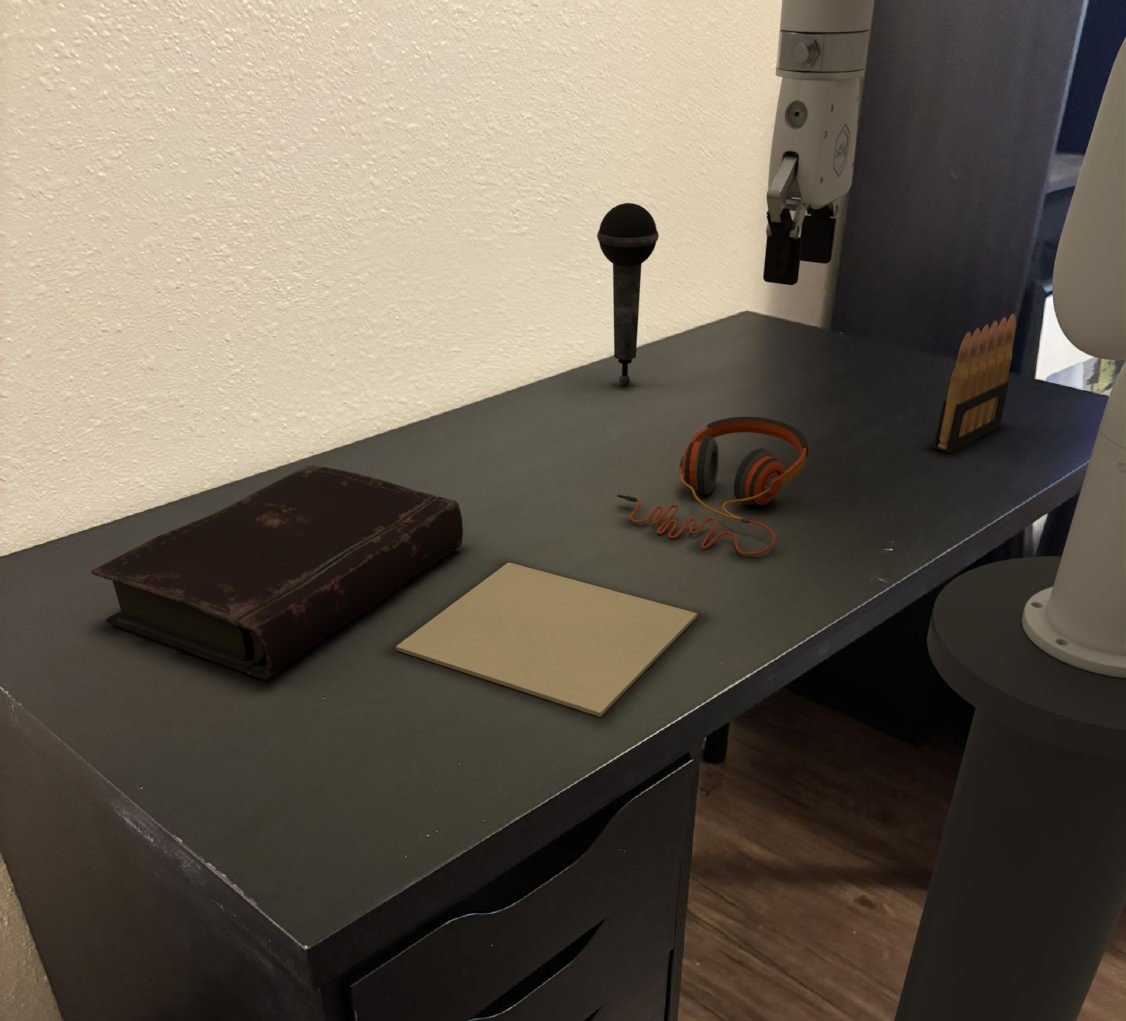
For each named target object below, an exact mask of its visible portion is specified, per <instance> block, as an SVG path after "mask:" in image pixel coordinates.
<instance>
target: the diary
mask: <svg viewBox="0 0 1126 1021" xmlns="http://www.w3.org/2000/svg"><path fill="white" fill-rule="evenodd" d="M463 536H464V524H463V516H462V512H461V508H460V504H459V503H458V501H457V500H456V499H450V498H446V497H443V496H436V495H435V494H432V493H426V492H423V491H420V490H415V489H413V488H412V489H411V488H409V487H407V486H406V487H405V486H402V485H399V484H395V483H393V482H389V481H386V480H383V479H380V478H375V477H372V476H368V475H364V474H360V473H355V472H352V471H348V470H344V469H337V468H333V467H332V468H331V467H328V466H327V467H326V466H323V465H315V464H307V465H305V466H303V467H300V468H298V469H297V470H295V471H293V472H291V473H290V474H287V475H285V476H284V477H282V478H280V479H277V480H276V481H274V482H272V483H270V484H268V485H266V486H264V487H262V488H261V489H259V490H257V491H254V492H253V493H251V494H249V495H247V496H245V497H243V498H241V499H239V500H237V501H235V502H234V503H233V502H232V503H231V504H229V505H227V506H225V507H224V508H221V509H219V510H218V511H216V512H213V513H212V514H209V515H207V516H204V517H202V518H200V519H197V520H194V521H192V522H190V523H187V524H185V525H183V526H182V525H181V526H179V527H178V528H176V529H173V530H169V531H167V532H165V533H162V534H159V535H157V536H156V537H154V538H152V539H150V540H147V541H145V542H143V543H142V544H140V545H138V546H136V547H134V548H132V549H131V550H128V551H127V552H125V553H122V554H121V555H119V556H117V557H115V558H113V559H111V560H109V561H107V562H106V563H103V564H101V565H100V566H97V567H95V568H94V569H92V570H91V572H90V574H92V575H94V576H97V577H99V578H103V579H106V580H109V581H112V584H113V589H114V592H115V594H116V599H117V602H118V605H119V608H120V611H118V612H116V613H115V614H112V615H111V616H109V617H107V618H106V619H105V622H106V623H108V624H109V625H113V626H114V627H115V626H116V627H118V628H121V629H124V630H127V631H129V632H132V633H135V634H138V635H140V636H143V637H146V638H149V639H152V640H154V641H157V642H159V643H162V644H164V645H167V646H170V647H173V648H175V649H178V650H181V651H185V652H187V653H189V654H192V655H196V656H198V657H201V658H203V659H206V660H209V661H212V662H214V663H217V664H220V665H223V666H225V667H228V668H231V669H233V670H237V671H239V672H241V673H245V672H246V674H248V675H250V676H253V677H255V678H258V679H261V680H264V681H266V680H268V679H270V678H271V677H272V676H274V675H275V674H277V673H278V672H279V671H281V670H282V669H283V668H285V667H286V666H288V665H289V664H290V663H292V662H293V661H294V660H296V659H297V658H298V657H300V656H301V655H303V654H304V653H306V652H307V651H308V650H309V649H311V648H312V647H313V646H315V645H316V644H317V643H319V642H321V640H323V639H324V638H326V637H327V636H328V635H330V634H332V633H333V632H335V631H337V630H338V629H340V628H342V627H343V626H344V625H347V623H349V622H351V621H353V620H354V619H355V618H357V617H358V616H360V615H362V614H363V613H365V612H367V611H368V610H370V609H371V608H373V607H374V606H376V605H377V604H378V603H380V602H381V601H383V600H384V599H385V598H386V597H388V596H389V595H390V594H392V593H393V592H394V591H396V590H397V589H399V588H400V587H401V586H403V585H404V584H405V583H407V582H408V581H409V580H411V579H412V578H413V577H414V576H416V575H418V574H419V573H420V572H422V571H424V570H425V569H427V568H428V567H430V566H432V565H433V564H435V563H437V562H438V561H440V560H442V559H443V558H445V557H446V556H448V555H449V554H451V553H453V552H454V551H456V550H457V549H460V547H461V546H462V545H463Z"/></svg>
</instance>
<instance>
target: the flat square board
mask: <svg viewBox="0 0 1126 1021" xmlns="http://www.w3.org/2000/svg"><path fill="white" fill-rule="evenodd" d="M697 618H698V613H697V612H694V611H691V610H686V609H682V608H679V607H676V606H671V605H668V604H665V603H660V602H657V601H653V600H649V599H646V598H642V597H638V596H634V595H631V594H627V593H624V592H620V591H616V590H613V589H609V588H605V587H601V586H597V585H595V584H591V583H587V582H583V581H580V580H575V579H572V578H569V577H564V576H560V575H557V574H554V573H550V572H546V571H542V570H538V569H536V568H531V567H528V566H524V565H520V564H516V563H513V562H506V563H505V564H504V565H502V566H501V567H500V568H499V569H497V570H496V571H495V572H493V573H492V574H490V575H489V576H488V577H486V578H485V579H484V580H483V581H481V582H480V583H478V584H477V585H476V586H474V587H473V588H472V589H470V590H469V591H468V592H466V593H465V594H464V595H463V596H461V597H459V599H458V600H456V601H454V602H453V603H452V604H451V605H449V606H448V607H447V608H445V609H444V610H443V611H440V613H439V614H437V615H435V616H434V617H433V618H431V620H429V621H428V622H427V623H425V624H424V625H422V626H421V627H419V629H416V631H414V632H413V633H412V634H410V635H409V636H408V637H406V638H405V639H403V641H401V642H399V643H398V644H397V645H396V646H395V649H396V651H397V652H400V653H403V654H406V655H409V656H412V657H415V658H418V659H422V660H424V661H427V662H429V663H430V662H431V663H433V664H437V665H439V666H443V667H445V668H449V669H452V670H455V671H457V672H461V673H465V674H467V675H470V676H473V677H476V678H479V679H482V680H486V681H489V682H492V683H495V684H498V685H500V686H504V687H507V688H510V689H513V690H516V691H519V692H522V693H525V694H528V695H531V696H534V697H537V698H541V699H544V700H547V701H550V702H553V703H556V704H559V705H562V706H565V707H567V708H571V709H574V710H576V711H577V710H578V711H581V712H583V713H585V714H586V713H587V714H589V715H593V716H596V717H599V718H601V717H602V716H603V715H605V713H606V712H607V711H609V709H610V708H611V707H612V706H613V705H614V704H615V703H616V702H617V701H618V700H619V699H620V698H621V697H622V696H623V694H625V693H626V692H627V691H628V689H629V688H630V687H631V686H632V685H633V684H634V683H635V682H636V681H637V680H639V678H640V677H641V676H642V675H643V674H644V673H645V672H646V671H647V670H648V669H649V668H650V667H651V666H652V665H653V664H654V663H655V662H656V660H658V659H659V658H660V657H661V655H662V654H663V653H664V652H666V651H667V649H668V648H669V647H670V646H671V645H672V644H673V643H674V642H675V641H676V640H677V639H678V638H679V637H680V636H681V635H682V634H683V632H684V631H686V629H687V628H688V627H690V626H691V625H692V623H693V622H694V621H695V620H697Z"/></svg>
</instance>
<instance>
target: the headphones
mask: <svg viewBox="0 0 1126 1021" xmlns="http://www.w3.org/2000/svg"><path fill="white" fill-rule="evenodd" d="M737 433H738V434H739V433H750V434H751V433H753V434H761V435H766V436H771V437H774V438H778V439H781V440H783V441H784V442H787V443H788V444H790V445H792V446H793V447H794V448H795V450H796V451H797V452H798V454H799V458H798V459H797V460H796V461H795V462H794V463H793V464H792V465H791V466H790V467H788V468H787V469H786V470H784V466H783V464H782V463H781V461H780V460H779V459H777V458H776V456H775V453H774V452H772V451H770V450H768V449H766V448H762V447H760V448H756V449H754V450H751V452H749V453H748V454H747V455H746V456H745V457H744V458H743V459H742V461H741V462H740V464H739V466H738V467H737V469H736V471H735V474H734V480H733V494H734V497H735V499H730V500H727V501H724V502H723V504H722V507H721V509H722V511H723V512H721V511H719V510H717V509H715V508H713V507H711V506H709V505H708V504H706V503H705V502H703V501H702V500H701V499H700V498H699V496H698V495H697V494H696V491H698V493H699V494H700V495H709V494H711V492H712V491H713V490H714V488H715V485H716V482H717V478H718V477H717V476H718V471H719V446H718V442H717V440H716V438H718V437H721V436H724V435H730V434H737ZM809 454H810V447H809V443H808V440H807V438H806V437H805V435H804V433H802V432H801V431H800V430H799V429H797V428H796V427H794V426H793V425H790V424H788V423H786V422H783V421H781V420H776V419H772V418H766V417H761V416H733V417H727V418H722V419H719V420H715V421H712V422H708V423H707V425H706V427H705V428H703V429H701V430H700V431H698V432H696V434H695V435H694V436H693V437H692V438H691V440H690V441H689V443H688V444H687V447H686V448H685V450H684V452H683V455H682V456H681V457H680V459H679V463H678V469H679V470H678V471H679V478H680V480H681V482H682V483H683V484H684V486H686V488H688V489H690V491H691V492H692V495H693V497H694V498H695V500H696V501H697V502H698V503H699V504H701V505H702V506H703V507H704V508H705V509H707V510H709V511H711V512H713V513H715V514H718V515H720V516H722V517H726V518H728V519H733V520H736V521H740V522H741V523H744V524H747V525H749V524H753V525H757V526H759V527H762V528H763V529H766V530H768V532H770V533H771V534H772V537H773V538H772V542H771V543H770V544H769V545H768V546H767V547H765V548H763V549H760V550H758V551H753V552H751V551H750V552H746V551H742V550H741V549H740V547H739V543H738V539H737V538H738V537H737V536H736V535H735V533H733V532H732V531H722V532H720V533H718V534H717V535H716V536H715V537H713V539H712V540H711V541H710V542H708V544H706V542H707V541H708V539H709V538H710V536H711V535H712V534H713V532H714V530H715V528H716V526H717V524H718V521H717V519H715V518H714V517H708V518H706V519H704V520H703V521H702V523H701V524H700V525H699V527H698V528H697V529H696V530H695V531H693V529H694V526H695V525H696V523H697V519H696V518H695V517H691V518H689V519H688V520H687V521H686V522H685V523H684V525H683V526H682V527H681V529H680V530H679V531H678V532H677V533H676V534H675V535H672V533H673V532H674V531H675V529H676V528H677V525H678V520H676V519H672V518H673V517H674V516H675V515H676V514H677V512H678V510H679V506H678V505H677V504H671V505H669V507H668V508H666V510H665V511H664V507H663V506H659V505H658V506H656V508H654V509H653V511H652V512H651V513H650V514H649V515H648V516H647V517H646V518H645V519H642V520H637V519H634V515H635V514H636V513H637V511H638V510H639V509H640V508H641V506H642V502H641V500H639V499H638V498H637V497H634V496H631V495H623V494H619V493H618V494H617V495H616V497H617V498H621V499H624V500H625V501H626V502H632V503H638V505H637V506H636V507H635V508H634V510H633V511H632V512H631V514H630V517H629V519H630V521H631V522H633V523H635V524H643V523H646V522H648V521H649V520H650V519H651V518H652V517H653V516H654V515H655V513H656V512H657V511H658V510H659V512H658V513H657V514H656V516H655V517H654V518H653V519H652V522H651V523H652V524H653V525H657V524H659V523H660V522H661V521H662V520H663V519H664V518H665V517H666V516H667V514H668V513H669V511H671V509H672V508H675V509H674V510H673V512H672V513H671V514H670V516H668V518H666V519H665V521H664V522H663V523H662V524H661V525H660V526H659V527H658V528H657V534H658V535H662V534H664V533H665V532H666V531H667V529H668V528H669V527H670V526H671V524H673V523H674V524H673V527H672V528H671V529H670V530H669V532H668V533H667V537H668V538H669V539H676V538H678V537H679V536H680V535H681V533H683V532H684V530H685V529H686V527H687V526H688V525H689V524H690V523H691V522H692V524H691V525H690V528H689V533H690V534H692V535H696V534H698V533H699V532H700V531H701V530H702V528H703V526H704V525H705V524H707V523H708V522H710V521H713V525H712V527H711V529H709V532H708V533H707V534H706V537H704V539H703V541H702V543H701V544H700V547H701V549H702V550H707V549H708V548H709V547H711V546H712V545H713V544H714V543H715V541H717V540H718V539H719V538H721V537H722V536H725V535H729V536H731V537H732V538H733V541H734V545H735V549H736V551H737V552H738V553H739V554H740V555H743V556H756V555H760V554H762V553H766V552H767V551H768V550H770V549H771V548H773V546H774V545H775V544H776V541H777V535H776V533H775V531H774V530H773V529H772V528H771V527H769V526H767V525H766V524H763V523H762V522H758V521H755V520H751V519H750V518H748V517H744V516H742V517H741V516H739V515H735V514H733V513H731V512H729V510H727V509H726V505H727V504H728V505H729V504H733V503H741V504H743V505H746V506H754V505H758V506H759V505H761V506H764V505H766V504H768V503H770V502H771V501H772V500H773V499H774V498H775V497H776V496H777V495H778V493H779V491H780V490H781V487H782V486H784V485H786V484H787V483H788V482H789V481H791V480H792V479H794V478H795V477H796V476H797V475H798V473H800V472H801V471H802V470H803V468H804V467H805V464H806V462H807V461H806V460H807V458H809ZM695 490H696V491H695ZM663 511H664V513H663ZM662 513H663V514H662ZM671 519H672V520H671ZM705 544H706V545H705Z"/></svg>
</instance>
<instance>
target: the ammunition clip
mask: <svg viewBox="0 0 1126 1021" xmlns="http://www.w3.org/2000/svg"><path fill="white" fill-rule="evenodd" d="M1016 326H1017V320H1016V314H1015V313H1011V315H1010V316H1009V318H1008V321H1007V317H1006V316H1004V317H1003V318H1002V319H1001V320H1000V322H999V324H998V320H994V321H993V323H992V324H991V326H990V327H989V324H987V323H986V324H985V325H984V327H983V328H982V330H980V328H979V327H977V328H976V329H975V330H974V332H973V334H972V333H971V332H970V331H967V333H965V335H964V337H963V339H962V342H961V344H960V347H959V350H958V353H957V359H956V361H955V364H954V369H953V370H952V374H951V376H950V382H949V388H948V391H947V396H946V399H944V400H943V402H942V406H941V411H940V415H939V420H938V425H937V428H936V432H935V433H936V434H935V438H934V444H933V447H932V448H933V449H935V450H937V451H941V452H943V453H947V454H950V453H953V452H954V451H957V450H958V449H961V448H962V447H964V446H966V445H968V444H971V443H972V442H974V441H976V440H978V439H980V438H981V437H984V436H986V435H987V434H989V433H991V432H993V431H995V430H997V429H999V428H1000V427H1001V423H1002V419H1003V418H1002V417H1003V413H1004V409H1005V404H1006V401H1007V400H1006V399H1007V394H1008V390H1009V387H1010V386H1009V384H1010V380H1008V378H1009V374H1010V373H1009V371H1010V367H1011V363H1012V360H1013V359H1012V358H1013V347H1014V341H1015V336H1016V328H1017V327H1016Z"/></svg>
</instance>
